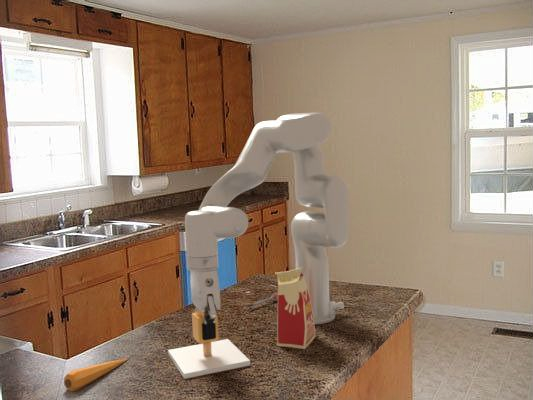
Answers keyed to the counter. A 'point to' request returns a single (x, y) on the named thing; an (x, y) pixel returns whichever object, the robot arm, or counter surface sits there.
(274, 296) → the screwdriver
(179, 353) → the white plate
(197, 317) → the gold domed block
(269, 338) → the counter surface
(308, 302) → the milk carton
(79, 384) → the carrot
